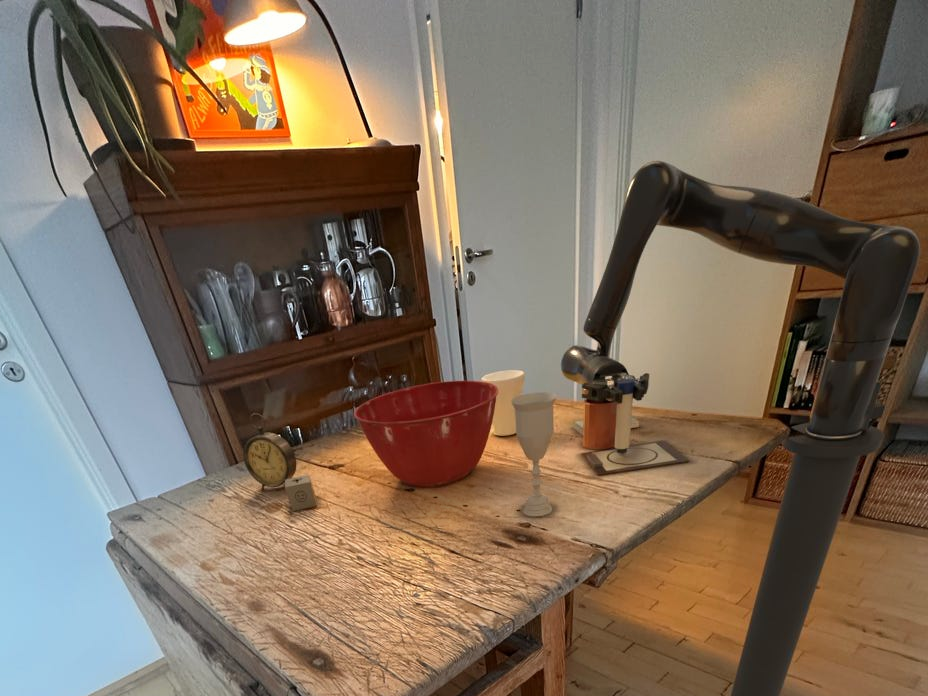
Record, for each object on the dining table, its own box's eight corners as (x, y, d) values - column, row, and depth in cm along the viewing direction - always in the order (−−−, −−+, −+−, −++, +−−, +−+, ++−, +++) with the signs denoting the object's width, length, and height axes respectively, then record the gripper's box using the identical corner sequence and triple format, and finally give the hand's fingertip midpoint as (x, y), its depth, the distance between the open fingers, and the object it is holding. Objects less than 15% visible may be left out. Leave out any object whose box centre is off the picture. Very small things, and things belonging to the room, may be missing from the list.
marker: (626, 448, 104) (631, 378, 97) (631, 453, 102) (636, 381, 94) (611, 450, 104) (615, 380, 97) (616, 455, 102) (620, 384, 94)
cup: (532, 426, 129) (530, 368, 121) (520, 439, 122) (516, 379, 114) (494, 427, 133) (490, 371, 125) (480, 440, 126) (475, 381, 118)
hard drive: (585, 430, 115) (639, 420, 116) (573, 421, 122) (624, 411, 122) (585, 437, 116) (638, 427, 117) (573, 428, 123) (624, 419, 123)
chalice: (562, 515, 86) (561, 400, 75) (521, 521, 86) (515, 407, 75) (552, 499, 92) (550, 390, 81) (514, 505, 92) (507, 397, 81)
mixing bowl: (481, 503, 95) (472, 415, 85) (347, 502, 105) (326, 423, 95) (518, 451, 115) (513, 375, 106) (403, 454, 125) (390, 385, 116)
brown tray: (662, 442, 107) (663, 437, 106) (688, 462, 97) (689, 456, 96) (580, 454, 108) (580, 449, 107) (597, 475, 97) (597, 470, 97)
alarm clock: (254, 493, 118) (226, 418, 108) (266, 484, 122) (241, 411, 112) (296, 491, 114) (271, 414, 105) (307, 482, 118) (284, 407, 109)
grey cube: (316, 497, 110) (309, 474, 107) (316, 505, 106) (309, 482, 103) (292, 502, 109) (285, 479, 106) (292, 511, 105) (284, 487, 102)
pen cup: (612, 436, 114) (614, 392, 109) (623, 446, 108) (625, 400, 103) (579, 441, 115) (579, 398, 109) (587, 451, 109) (588, 406, 103)
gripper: (570, 363, 106) (592, 379, 92) (639, 352, 105) (671, 367, 92) (570, 402, 111) (591, 423, 97) (636, 392, 110) (667, 411, 96)
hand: (630, 396), depth 94 cm, fingers closed on marker, 3 cm apart
